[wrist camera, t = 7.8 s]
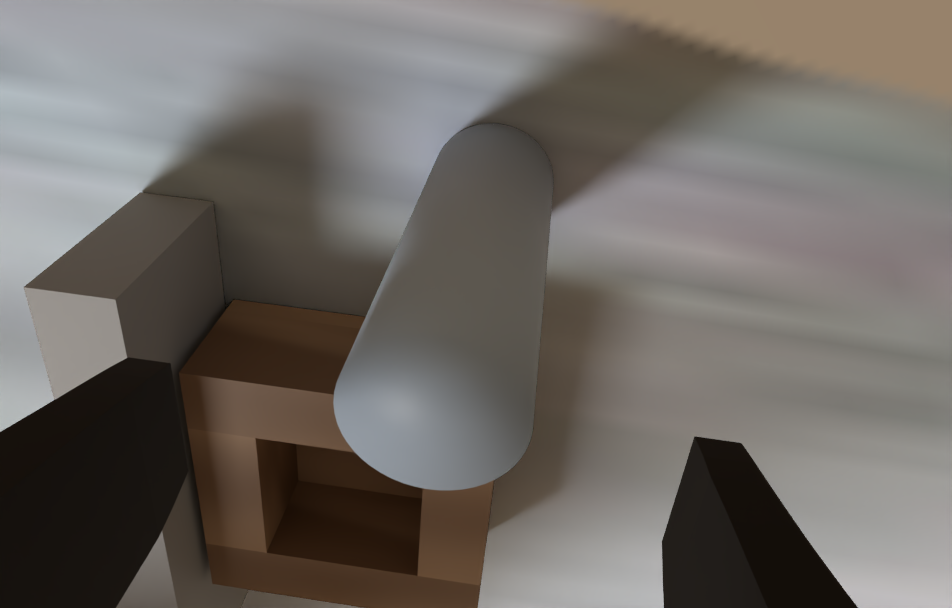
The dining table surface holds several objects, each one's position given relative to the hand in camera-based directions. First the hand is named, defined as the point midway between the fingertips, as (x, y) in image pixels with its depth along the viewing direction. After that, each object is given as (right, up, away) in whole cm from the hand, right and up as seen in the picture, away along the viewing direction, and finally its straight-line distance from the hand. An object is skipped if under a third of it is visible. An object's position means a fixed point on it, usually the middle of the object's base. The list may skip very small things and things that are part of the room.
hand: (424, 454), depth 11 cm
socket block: (-2, -2, +13) cm, 13 cm away
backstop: (-8, -1, +14) cm, 16 cm away
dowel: (+1, +5, +8) cm, 10 cm away
